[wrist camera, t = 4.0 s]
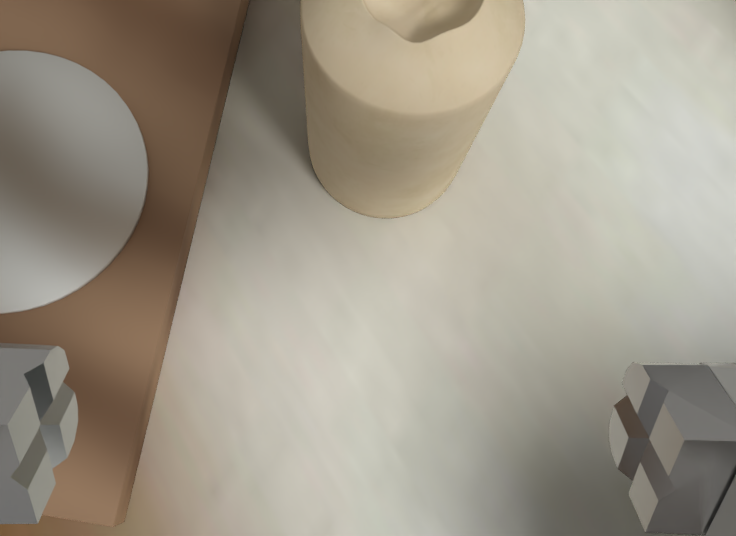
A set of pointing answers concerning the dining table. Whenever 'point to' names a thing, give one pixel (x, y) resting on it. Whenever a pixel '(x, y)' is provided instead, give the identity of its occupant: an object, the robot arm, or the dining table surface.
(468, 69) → the candle
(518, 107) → the dining table surface
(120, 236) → the board
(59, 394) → the robot arm
